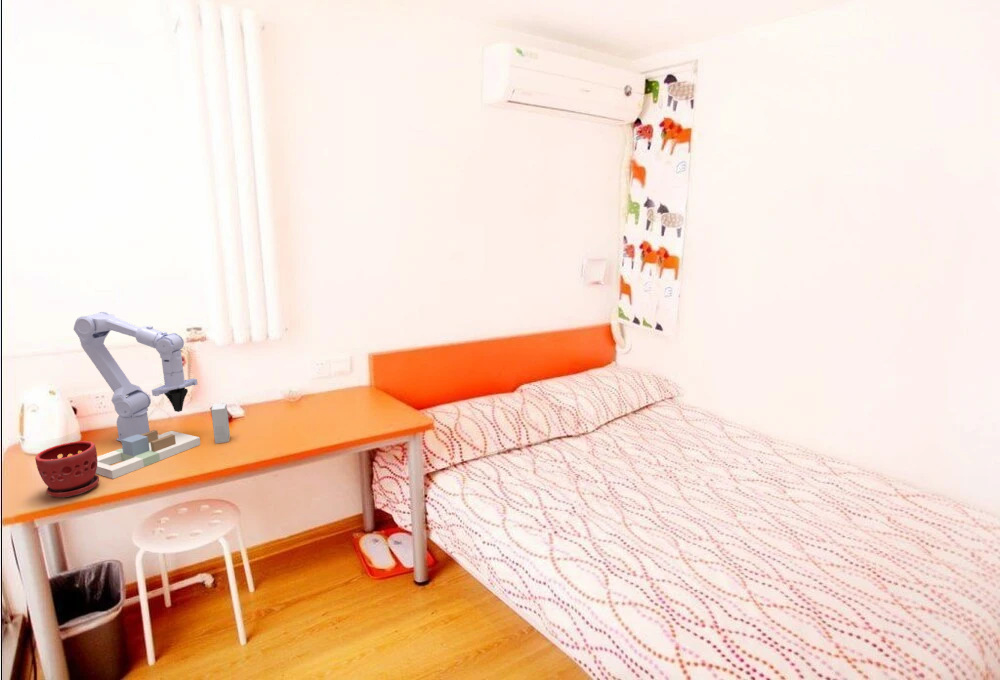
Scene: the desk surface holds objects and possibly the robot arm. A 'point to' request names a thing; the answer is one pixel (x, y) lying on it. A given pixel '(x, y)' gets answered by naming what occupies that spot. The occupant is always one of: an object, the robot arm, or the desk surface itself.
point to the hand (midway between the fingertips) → (178, 410)
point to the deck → (145, 453)
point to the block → (135, 445)
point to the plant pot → (68, 468)
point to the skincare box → (220, 423)
